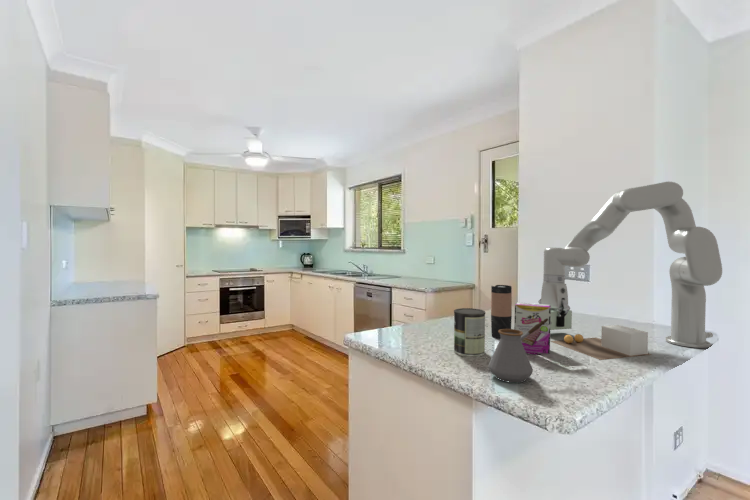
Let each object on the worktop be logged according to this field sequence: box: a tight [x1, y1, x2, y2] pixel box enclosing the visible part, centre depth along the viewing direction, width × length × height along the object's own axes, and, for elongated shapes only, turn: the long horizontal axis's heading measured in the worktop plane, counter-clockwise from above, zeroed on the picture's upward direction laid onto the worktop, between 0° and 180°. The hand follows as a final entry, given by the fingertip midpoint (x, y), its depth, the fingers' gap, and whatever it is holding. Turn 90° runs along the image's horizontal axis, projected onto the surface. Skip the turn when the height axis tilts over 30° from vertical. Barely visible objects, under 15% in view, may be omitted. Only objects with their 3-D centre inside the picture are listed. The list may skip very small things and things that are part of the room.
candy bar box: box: [513, 301, 551, 356], centre depth 125 cm, size 11×5×16 cm, turn 65°
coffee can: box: [453, 307, 486, 358], centre depth 126 cm, size 10×10×14 cm
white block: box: [600, 324, 649, 356], centre depth 125 cm, size 11×7×7 cm, turn 15°
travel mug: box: [490, 284, 513, 340], centre depth 146 cm, size 8×8×20 cm
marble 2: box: [573, 333, 585, 343], centre depth 134 cm, size 3×3×3 cm
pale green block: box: [550, 308, 573, 331], centre depth 146 cm, size 11×7×7 cm, turn 105°
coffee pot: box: [488, 318, 552, 383], centre depth 105 cm, size 21×12×15 cm, turn 117°
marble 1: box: [563, 334, 574, 343], centre depth 133 cm, size 3×3×3 cm
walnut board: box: [550, 337, 653, 361], centre depth 128 cm, size 20×22×1 cm
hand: (553, 324), depth 146 cm, fingers closed on pale green block, 7 cm apart
